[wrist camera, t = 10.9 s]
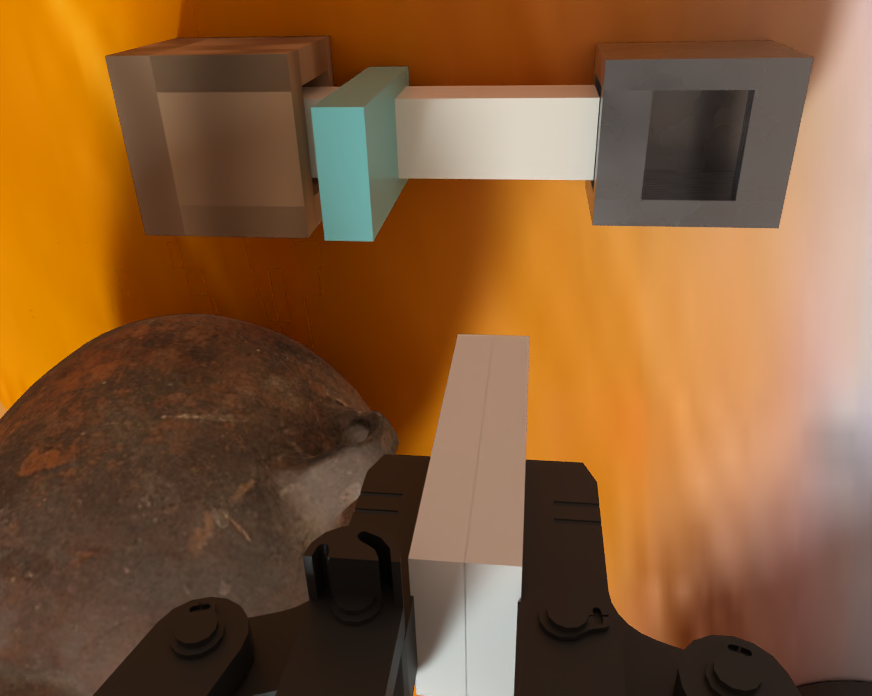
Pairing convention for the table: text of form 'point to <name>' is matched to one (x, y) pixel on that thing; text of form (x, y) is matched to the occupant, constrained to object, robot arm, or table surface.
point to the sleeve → (695, 132)
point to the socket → (222, 133)
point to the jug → (167, 488)
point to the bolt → (437, 140)
